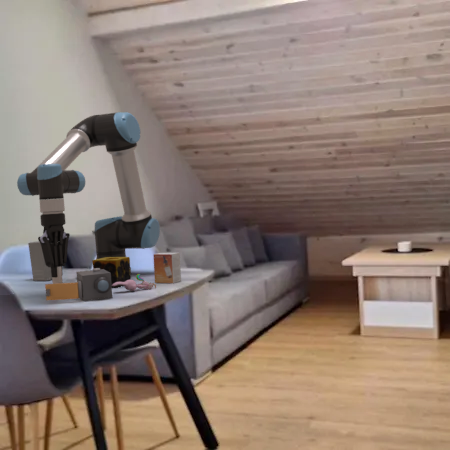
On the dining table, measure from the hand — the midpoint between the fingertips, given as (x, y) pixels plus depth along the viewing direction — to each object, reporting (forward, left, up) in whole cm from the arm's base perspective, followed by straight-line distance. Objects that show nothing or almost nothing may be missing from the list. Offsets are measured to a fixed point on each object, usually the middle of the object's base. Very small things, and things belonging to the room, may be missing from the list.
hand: (57, 287), depth 209 cm
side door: (+5, +1, -4) cm, 6 cm away
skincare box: (-58, +1, -5) cm, 58 cm away
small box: (-15, +40, -5) cm, 43 cm away
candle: (-21, +21, -5) cm, 30 cm away
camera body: (+1, +11, -4) cm, 12 cm away
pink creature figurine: (-3, +25, -5) cm, 26 cm away
